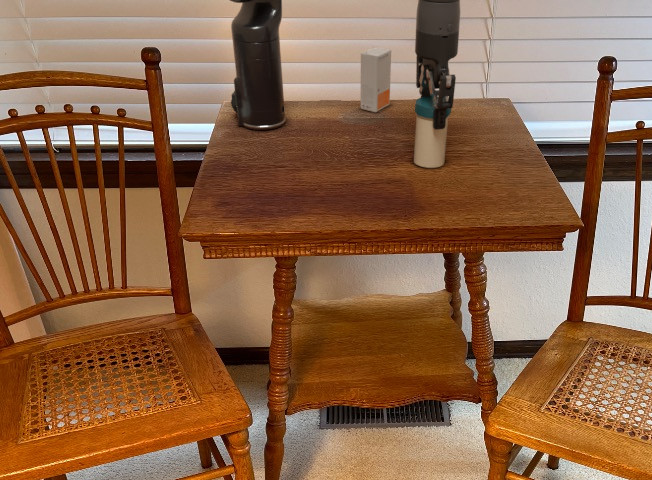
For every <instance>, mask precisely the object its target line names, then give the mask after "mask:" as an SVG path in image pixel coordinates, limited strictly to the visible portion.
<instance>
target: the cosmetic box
mask: <svg viewBox="0 0 652 480" xmlns="http://www.w3.org/2000/svg"><path fill="white" fill-rule="evenodd" d="M391 69H392V49H390V48H384V47H381V46H374V47H371V48H369V49H367V50H365V51H363V52H361V53H360V110H364V111H367V112H372V113H377V112H379V111H381V110H382V109H385V108H387V107H389V106H390V104H391V103H390V101H391V75H392V74H391V72H392V70H391Z"/></svg>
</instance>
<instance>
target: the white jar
mask: <svg viewBox="0 0 652 480" xmlns="http://www.w3.org/2000/svg"><path fill="white" fill-rule="evenodd" d="M415 114H416V113H415ZM449 118H450V115H449V116H447V117H446V125H445V128H444V129H438V130H435V129H434V128H433V118H425V117H422V116H419V115H417V114H416V116H415V129H414V130H415V132H414V147H413V149H414V150H413V163H414V164H415V165H416V166H419V167H422V168H426V169H427V168H428V169H435V168H439V167H442V166H444V165H445V164H446V163H445V160H446V150H447V149H446V148H447V141H448V140H447V139H448V138H447V137H448V128H449Z"/></svg>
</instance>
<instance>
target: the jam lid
mask: <svg viewBox="0 0 652 480" xmlns="http://www.w3.org/2000/svg"><path fill="white" fill-rule="evenodd" d="M443 102H444V99H443ZM414 112H415V114H417V115H419V116H422V117H425V118H433V114H434V102H433V97H432V96H429V97H421V96H420V97H419V98H417V99H416V100H415V104H414ZM451 114H452V108H450V109H447V110H446V117H447V116H449V117H450V115H451Z"/></svg>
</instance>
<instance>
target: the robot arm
mask: <svg viewBox="0 0 652 480" xmlns="http://www.w3.org/2000/svg"><path fill="white" fill-rule="evenodd" d="M229 2H231V3H236V4H241V6H240V9H239V11H238V13H237V14H236V16H235V17H234V18H233V19H232V21H231V23H230V30H231V37H232V48H233V56H234V66H235V74H236V76H235V77H234V79H233V87H234V90H233V92H232V93H231V100H230V106H231V108H232V109H233V110H234V112H235V113H236V114H237V123H238V127H244V128H246V129H250V130H255V131H269V130H275V129H278V128H280V127H282V126H284V125H285V124H286V122H287V118H286V105H285V97H284V96H285V95H284V82H283V81H284V80H283V69H282V67H283V66H282V54H281V53H282V52H281V41H280V40H281V39H280V26H281V23H282V19H283V0H229ZM417 2H418V3H417V7H416V14H415V15H416V18H415V40H414V41H415V42H414V53H415V55H416V64H415V65H416V68H415V69H416V70H415V72H416V73H415V75H416V76H415V78H416V80H415V86H416V89H418V93H419V95H420V98H421V97H429V96H432V97H433V102H434V114H433V128H434V129H435V130H438V129H444V128H445V125H446V110H447V109H450V108H451V109H453V106H454V99H455V98H454V97H455V89H456V81H457V80H456V74H451V73H450V67H449V62H450V60H451V59H454V58H456V57H457V55H458V52H459V40H460V39H459V37H460V26H461V24H460V23H461V0H417ZM443 99H444V102H443Z"/></svg>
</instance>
